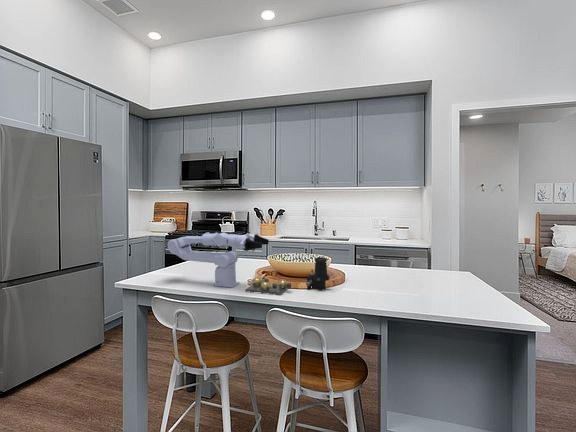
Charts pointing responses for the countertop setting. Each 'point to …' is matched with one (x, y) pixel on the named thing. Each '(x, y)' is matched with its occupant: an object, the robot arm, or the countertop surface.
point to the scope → (318, 275)
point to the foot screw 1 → (259, 281)
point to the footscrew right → (268, 285)
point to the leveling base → (271, 291)
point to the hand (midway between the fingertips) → (265, 243)
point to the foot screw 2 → (284, 284)
